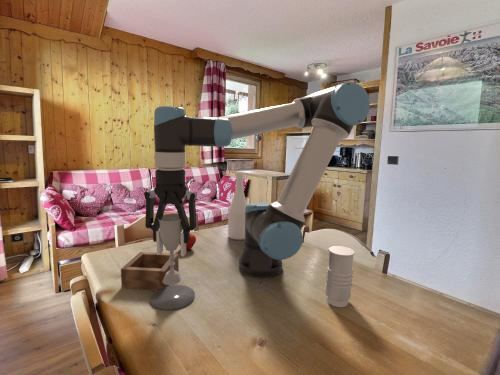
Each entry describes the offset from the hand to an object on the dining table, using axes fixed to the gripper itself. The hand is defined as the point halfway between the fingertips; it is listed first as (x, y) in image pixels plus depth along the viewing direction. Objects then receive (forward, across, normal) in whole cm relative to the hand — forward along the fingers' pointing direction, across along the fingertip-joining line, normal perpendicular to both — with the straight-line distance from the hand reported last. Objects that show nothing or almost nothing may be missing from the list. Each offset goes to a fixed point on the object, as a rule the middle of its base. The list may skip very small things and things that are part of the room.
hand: (171, 253), depth 78 cm
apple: (+13, +6, -35) cm, 38 cm away
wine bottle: (+13, -13, -53) cm, 56 cm away
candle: (+13, -46, -3) cm, 48 cm away
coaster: (+13, 0, 0) cm, 13 cm away
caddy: (+13, +10, -10) cm, 19 cm away
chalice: (+8, 0, 0) cm, 8 cm away
